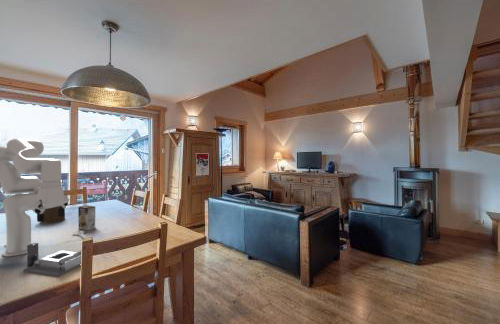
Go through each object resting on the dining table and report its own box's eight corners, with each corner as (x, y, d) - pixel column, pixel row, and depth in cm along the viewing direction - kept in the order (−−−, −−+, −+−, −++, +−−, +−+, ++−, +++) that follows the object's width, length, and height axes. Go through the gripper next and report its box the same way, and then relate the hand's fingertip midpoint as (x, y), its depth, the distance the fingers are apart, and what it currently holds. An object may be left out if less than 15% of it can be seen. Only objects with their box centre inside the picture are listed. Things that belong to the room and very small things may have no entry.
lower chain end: (32, 267, 106) (32, 260, 106) (57, 257, 116) (57, 251, 116) (58, 271, 103) (58, 264, 103) (81, 260, 113) (81, 253, 113)
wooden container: (52, 218, 192) (51, 192, 192) (69, 218, 192) (69, 192, 192) (35, 223, 177) (35, 195, 177) (54, 223, 177) (54, 195, 177)
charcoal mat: (23, 271, 104) (23, 269, 104) (59, 256, 119) (59, 254, 119) (58, 276, 100) (58, 274, 100) (90, 260, 115) (90, 258, 115)
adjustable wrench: (92, 242, 142) (92, 239, 142) (80, 245, 137) (80, 242, 137) (83, 232, 158) (83, 229, 158) (71, 234, 154) (71, 232, 154)
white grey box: (37, 268, 105) (37, 257, 105) (62, 257, 116) (61, 247, 116) (64, 271, 102) (64, 260, 102) (86, 260, 113) (86, 250, 113)
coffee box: (78, 229, 164) (77, 206, 164) (86, 226, 171) (86, 205, 170) (87, 230, 162) (87, 207, 161) (95, 227, 168) (95, 206, 167)
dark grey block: (24, 266, 109) (24, 245, 108) (34, 262, 113) (34, 242, 112) (31, 267, 108) (31, 246, 108) (40, 263, 112) (40, 243, 112)
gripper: (62, 182, 120) (62, 214, 121) (24, 186, 103) (25, 223, 104) (74, 182, 119) (74, 215, 119) (38, 187, 102) (38, 224, 102)
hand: (51, 218), depth 112 cm, fingers open, 9 cm apart
